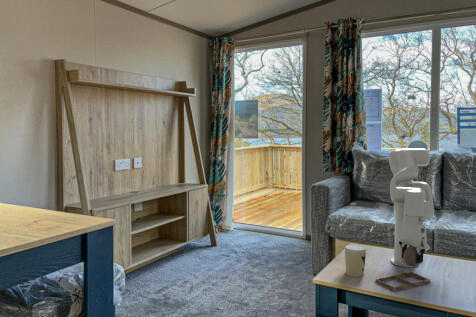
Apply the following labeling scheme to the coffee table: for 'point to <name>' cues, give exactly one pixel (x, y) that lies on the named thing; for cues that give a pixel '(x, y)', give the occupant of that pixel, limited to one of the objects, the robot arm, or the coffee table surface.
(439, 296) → the coffee table surface
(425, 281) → the frame
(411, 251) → the vase
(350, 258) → the coffee cup
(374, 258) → the coffee table surface
